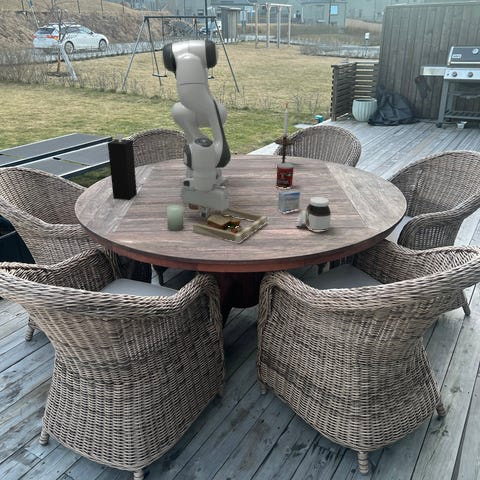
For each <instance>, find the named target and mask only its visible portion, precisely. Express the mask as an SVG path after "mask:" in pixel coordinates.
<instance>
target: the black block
mask: <svg viewBox="0 0 480 480" xmlns="http://www.w3.org/2000/svg"><path fill="white" fill-rule="evenodd" d="M116 137H117V139H113V140H110V141H109V142H108V141H107V150H108V159H109V167H110V178H111V189H112V196H113V197H112V199H114V200H122V201H123V200H124V201H131V200H132V199H134V197H136V196H137V195H138V192H137V191H138V190H137V177H136V168H135V167H136V166H135V154H134V153H135V152H134V140H133V139H123V137H124V134H121V133H116Z"/></svg>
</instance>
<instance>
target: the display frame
mask: <svg viewBox="0 0 480 480" xmlns="http://www.w3.org/2000/svg"><path fill="white" fill-rule="evenodd" d="M222 214H223V215H222ZM221 215H222V216H224V215H229V216H234V217H239V218H244V219H250V220H254V221H255V222H252V223H251V224H250V225H248V226H247V227H245V228H244V229H242V231H241V232H239V233H238V234H236V233H232V232H228V231H224V230H220V229H216V228H212V227H208V226H206V225H203V224H200V223H196V222H195V223H194V224H192V233H195V234H199V235H202V234H204V235H203V236H206V235H208V236H207V237H210V236H212V237H211V238H214V237H217V238H216V239H218V238H222V239H227V240H232V241H236V242H240V241H241V240H243V239H244V238H245V237H247V236H248V235H250V234H251V233H252V232H254V231H255V230H256V229H258V228H259V227H260V226H261V225H263V224H264V223H265V222H267V223H268V216H267V215H262V214H257V213H253V212H249V211H244V210H239V209H234V208H231V207H228V209H226V210H225V211H221ZM229 216H228V217H229ZM222 239H221V240H222Z"/></svg>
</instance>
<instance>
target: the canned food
mask: <svg viewBox="0 0 480 480" xmlns="http://www.w3.org/2000/svg"><path fill="white" fill-rule="evenodd" d="M280 163H281V164H278V163H277V164H278V165H277V168H276V183H275V185H276V187H277V186H278V187H283V188H287V187H291V186H292V187H293V183H294V182H293V181H294V180H293V179H294V164H291V163H288V162H287V163H286V162H285V163H282V162H280Z"/></svg>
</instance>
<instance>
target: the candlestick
mask: <svg viewBox="0 0 480 480" xmlns="http://www.w3.org/2000/svg"><path fill="white" fill-rule="evenodd" d="M285 106H286V108H285V110H284V123H283V135H281V137H282V138H280V139H279V138H278V139H275V140H274V144H275V145H279V146H282V152H281V156H282V157H281V160H282V162H281V163H286V159H287V157H286V156H287V152H286V148H287V146H294V145H295V143H296V141H295V140H293V139H290V138H289V136H288V125H289V122H288V121H289V110H288V109H289V107H288V103H286V105H285ZM288 138H289V139H288Z"/></svg>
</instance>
